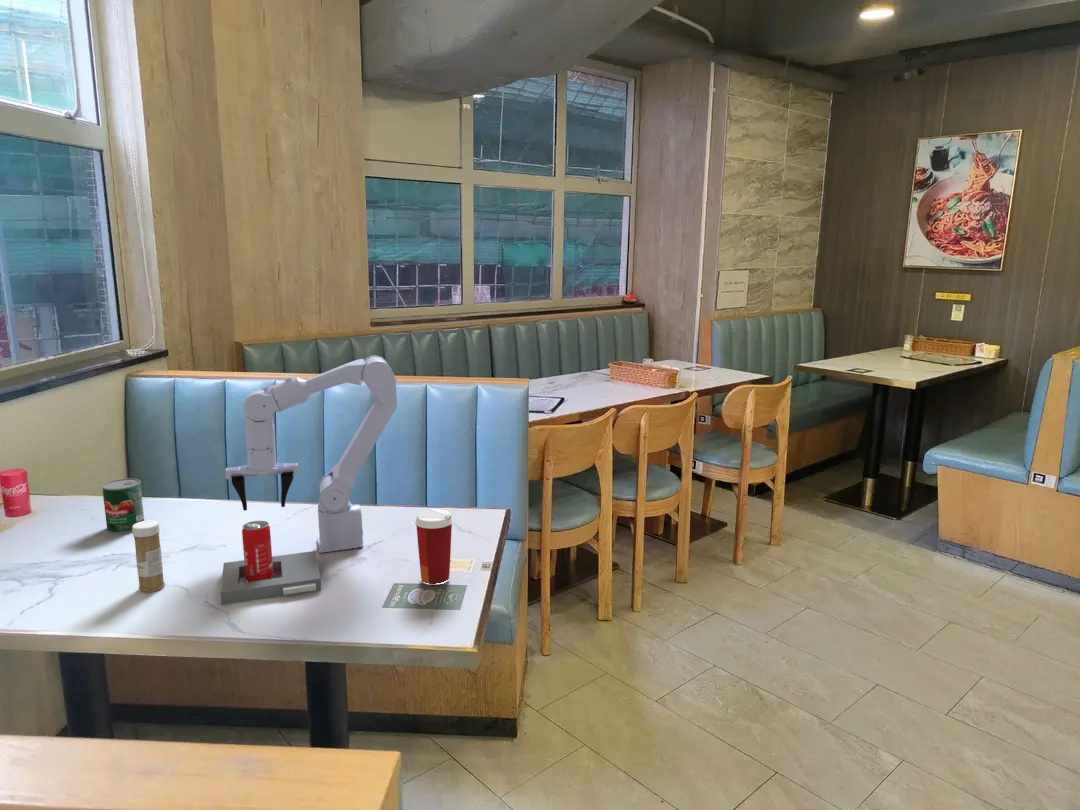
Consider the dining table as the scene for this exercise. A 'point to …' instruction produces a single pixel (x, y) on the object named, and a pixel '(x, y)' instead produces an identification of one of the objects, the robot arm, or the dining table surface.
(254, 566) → the red soda can
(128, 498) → the canned tomato
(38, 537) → the dining table surface
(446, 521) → the paper cup
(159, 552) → the sprinkles bottle
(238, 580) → the grey tray with recess
